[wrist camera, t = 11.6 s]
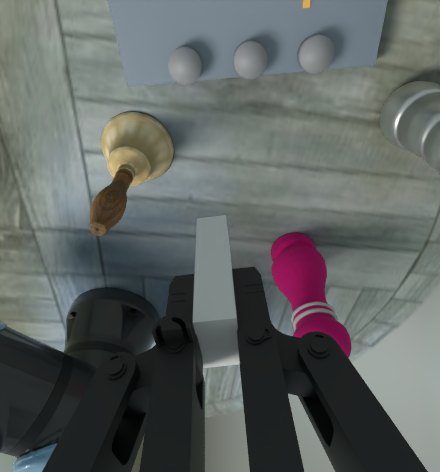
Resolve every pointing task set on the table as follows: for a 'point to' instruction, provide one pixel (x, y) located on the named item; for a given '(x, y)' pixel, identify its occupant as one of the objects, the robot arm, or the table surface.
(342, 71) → the table surface
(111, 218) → the hand bell
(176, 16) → the console board
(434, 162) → the plastic bottle
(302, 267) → the pepper mill
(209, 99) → the table surface
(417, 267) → the table surface
